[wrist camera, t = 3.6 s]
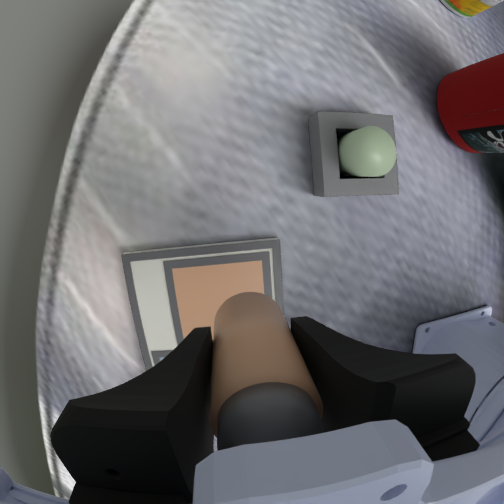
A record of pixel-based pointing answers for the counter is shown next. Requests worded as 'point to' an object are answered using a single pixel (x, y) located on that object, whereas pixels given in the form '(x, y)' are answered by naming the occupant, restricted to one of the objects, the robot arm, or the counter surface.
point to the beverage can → (474, 106)
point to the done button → (366, 152)
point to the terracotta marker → (259, 376)
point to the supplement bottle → (469, 6)
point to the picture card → (194, 287)
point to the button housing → (326, 155)
